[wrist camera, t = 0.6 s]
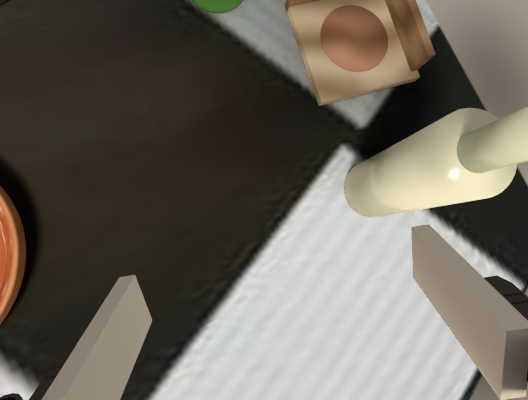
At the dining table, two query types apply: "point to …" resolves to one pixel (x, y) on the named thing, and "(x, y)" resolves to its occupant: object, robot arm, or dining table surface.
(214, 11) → the wine bottle
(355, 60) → the dock
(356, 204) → the bottle
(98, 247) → the dining table surface
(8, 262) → the saucer
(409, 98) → the dining table surface
